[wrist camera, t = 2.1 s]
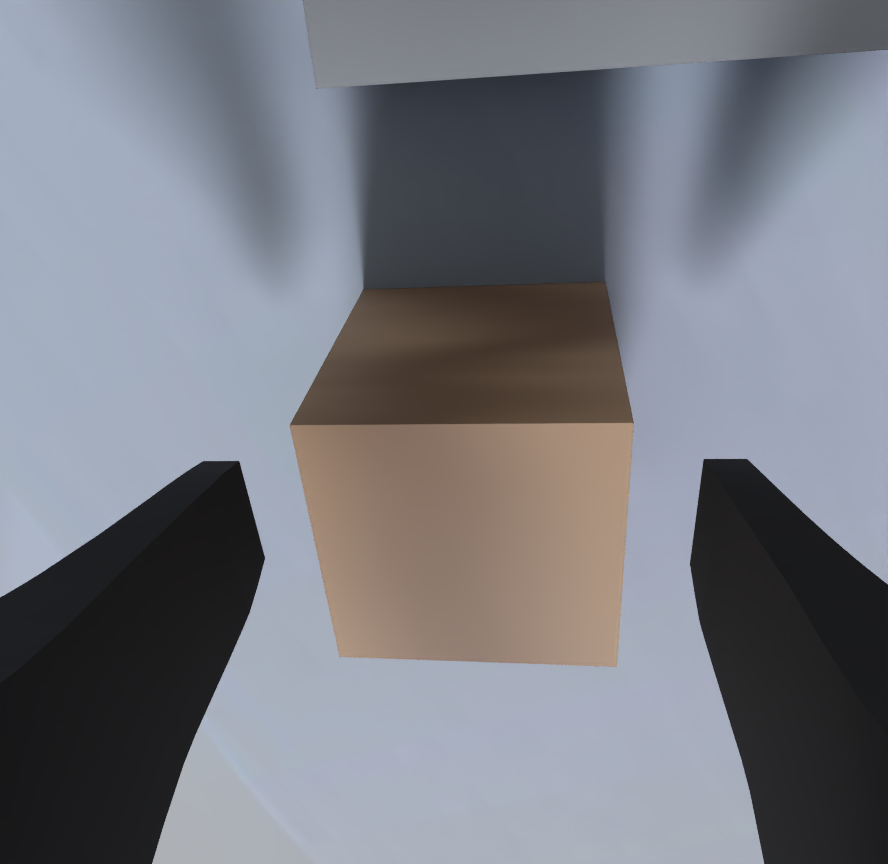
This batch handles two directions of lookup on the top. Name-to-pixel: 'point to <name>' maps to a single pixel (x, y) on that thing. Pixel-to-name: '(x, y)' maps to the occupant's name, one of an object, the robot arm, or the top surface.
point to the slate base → (571, 35)
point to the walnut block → (471, 474)
